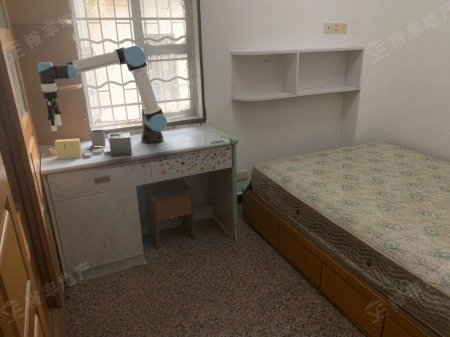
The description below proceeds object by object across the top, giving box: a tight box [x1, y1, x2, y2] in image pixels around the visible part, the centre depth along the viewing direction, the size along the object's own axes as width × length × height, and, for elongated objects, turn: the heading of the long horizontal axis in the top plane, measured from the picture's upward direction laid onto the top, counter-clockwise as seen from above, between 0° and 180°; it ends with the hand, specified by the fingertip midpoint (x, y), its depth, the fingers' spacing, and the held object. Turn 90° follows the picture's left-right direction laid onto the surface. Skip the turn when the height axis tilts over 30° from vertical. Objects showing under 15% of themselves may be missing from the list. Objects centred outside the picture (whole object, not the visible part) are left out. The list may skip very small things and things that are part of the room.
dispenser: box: [107, 132, 133, 158], centre depth 218 cm, size 13×12×12 cm
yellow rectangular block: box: [54, 137, 83, 158], centre depth 211 cm, size 13×5×10 cm, turn 103°
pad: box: [55, 155, 83, 161], centre depth 213 cm, size 14×9×1 cm, turn 104°
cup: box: [90, 129, 106, 147], centre depth 233 cm, size 8×8×10 cm
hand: (57, 128), depth 206 cm, fingers open, 13 cm apart
